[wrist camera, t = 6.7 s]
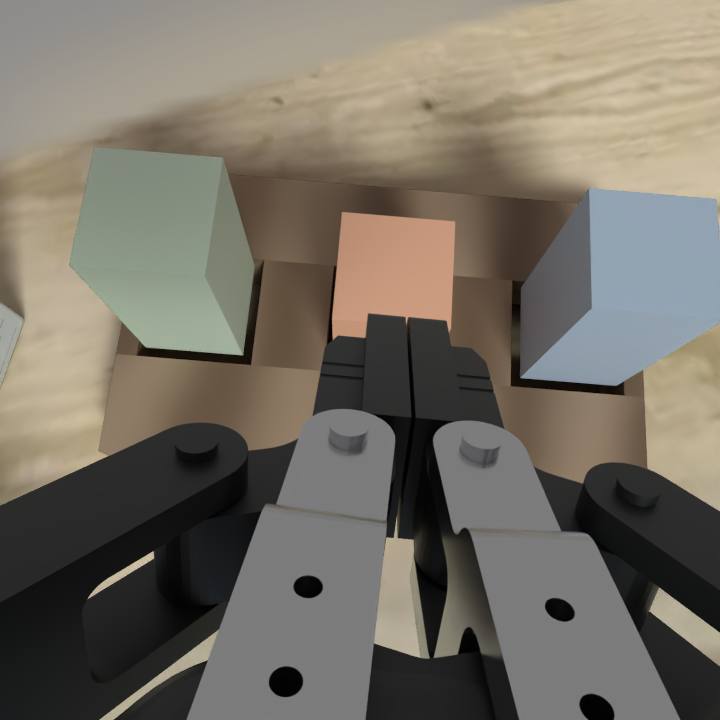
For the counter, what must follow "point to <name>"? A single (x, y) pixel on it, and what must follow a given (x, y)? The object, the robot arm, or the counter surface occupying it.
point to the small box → (8, 336)
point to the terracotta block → (392, 270)
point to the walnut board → (313, 323)
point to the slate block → (621, 287)
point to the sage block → (166, 249)
